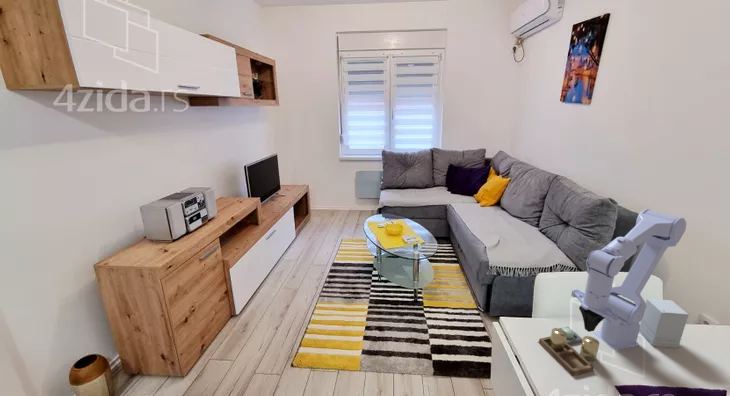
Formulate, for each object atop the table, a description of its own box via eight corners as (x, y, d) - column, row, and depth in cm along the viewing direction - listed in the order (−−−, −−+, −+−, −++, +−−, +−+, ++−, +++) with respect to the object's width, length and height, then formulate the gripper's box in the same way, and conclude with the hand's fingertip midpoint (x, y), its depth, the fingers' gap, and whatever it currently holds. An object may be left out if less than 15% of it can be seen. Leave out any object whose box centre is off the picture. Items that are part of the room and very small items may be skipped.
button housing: (567, 330, 108) (567, 326, 108) (581, 342, 103) (582, 339, 102) (551, 333, 107) (552, 329, 107) (566, 346, 101) (566, 342, 101)
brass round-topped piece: (557, 342, 102) (559, 327, 101) (567, 351, 99) (570, 335, 97) (546, 344, 102) (548, 329, 100) (555, 354, 98) (558, 338, 96)
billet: (587, 350, 99) (590, 335, 97) (599, 360, 95) (602, 344, 93) (576, 353, 98) (579, 337, 96) (587, 363, 94) (591, 347, 93)
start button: (567, 331, 107) (568, 326, 106) (576, 338, 103) (577, 333, 103) (557, 333, 106) (558, 328, 105) (566, 341, 103) (567, 336, 102)
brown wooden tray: (557, 338, 105) (558, 334, 104) (594, 372, 92) (595, 367, 91) (537, 343, 103) (537, 338, 103) (571, 378, 90) (572, 372, 90)
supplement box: (679, 348, 99) (690, 314, 95) (651, 346, 100) (661, 312, 96) (663, 332, 106) (672, 300, 102) (637, 329, 107) (646, 297, 103)
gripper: (565, 279, 97) (559, 316, 101) (608, 308, 83) (599, 349, 88) (585, 276, 98) (578, 312, 102) (631, 304, 85) (620, 345, 89)
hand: (589, 329), depth 95 cm, fingers closed
